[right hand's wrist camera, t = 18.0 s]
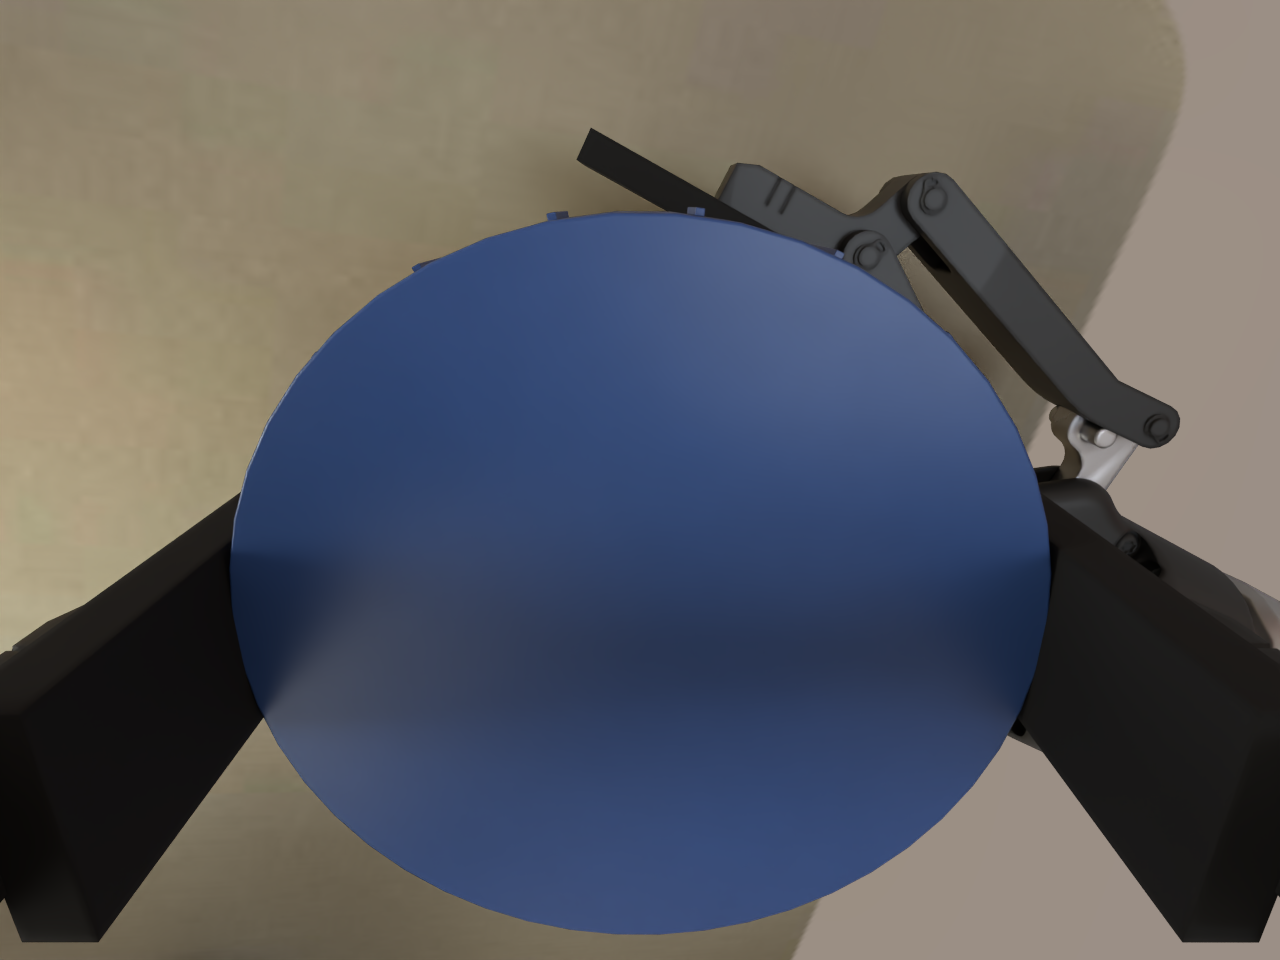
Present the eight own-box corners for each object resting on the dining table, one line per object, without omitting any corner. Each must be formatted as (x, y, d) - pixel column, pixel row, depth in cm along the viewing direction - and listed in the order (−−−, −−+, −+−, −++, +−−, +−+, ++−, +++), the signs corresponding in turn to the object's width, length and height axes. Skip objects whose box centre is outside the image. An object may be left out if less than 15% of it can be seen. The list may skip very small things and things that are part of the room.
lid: (525, 30, 9) (494, -19, 7) (1129, 483, 11) (1234, 544, 9) (190, 645, 12) (102, 730, 10) (713, 913, 15) (725, 1028, 12)
